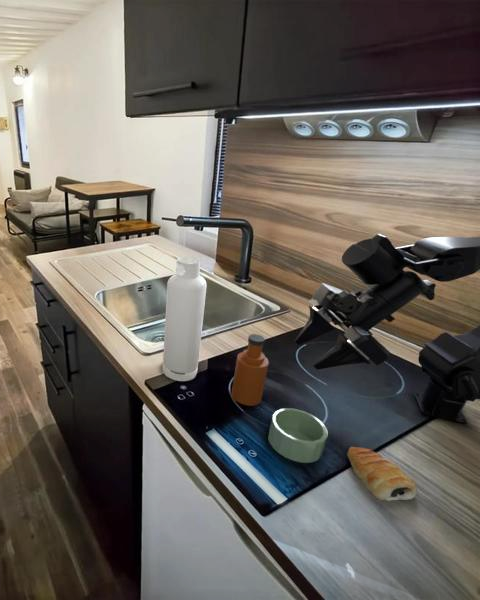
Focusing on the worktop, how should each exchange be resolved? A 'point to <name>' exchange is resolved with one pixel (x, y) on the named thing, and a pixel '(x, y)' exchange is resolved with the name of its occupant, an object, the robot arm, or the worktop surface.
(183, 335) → the bottle
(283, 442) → the green bowl
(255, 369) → the amber bottle
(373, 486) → the pastry
